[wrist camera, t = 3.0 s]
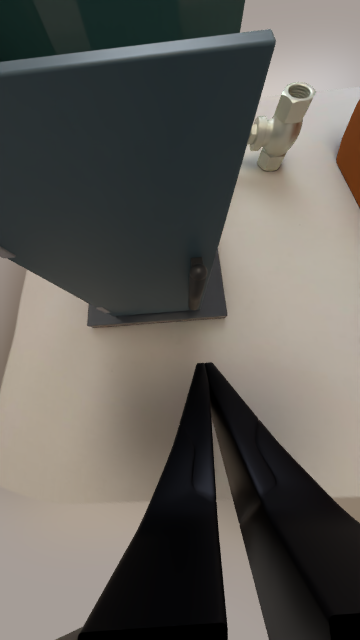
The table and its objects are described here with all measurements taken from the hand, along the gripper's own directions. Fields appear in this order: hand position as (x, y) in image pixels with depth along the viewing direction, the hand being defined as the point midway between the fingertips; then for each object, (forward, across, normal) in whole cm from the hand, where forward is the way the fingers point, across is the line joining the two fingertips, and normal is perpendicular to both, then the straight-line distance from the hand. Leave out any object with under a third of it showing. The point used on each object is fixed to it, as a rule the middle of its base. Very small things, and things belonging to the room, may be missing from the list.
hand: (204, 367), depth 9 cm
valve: (+27, -10, -14) cm, 32 cm away
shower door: (+9, +4, +2) cm, 10 cm away
